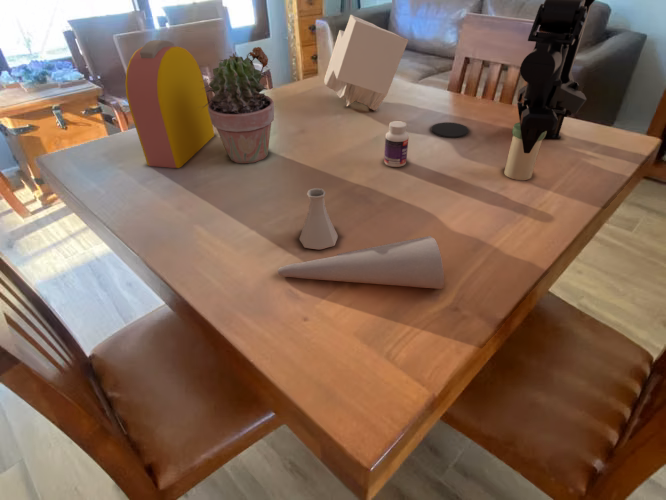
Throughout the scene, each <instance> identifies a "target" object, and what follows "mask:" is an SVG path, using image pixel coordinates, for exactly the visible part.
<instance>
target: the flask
mask: <svg viewBox="0 0 666 500" xmlns="http://www.w3.org/2000/svg"><path fill="white" fill-rule="evenodd" d="M306 195H307V197H308V211H307V215H306V216H305V217H306V218H305V221H304V224H303V227H302V230H301V232H300V236H299V242H300V244H301V245H302V246H303V247H304V249H313V250H324V249H327V248H331V247H334V246H335V245H336V243H337V240H338V238H339V236H338V233H337V231H336V229H335V226H334V224H333V223H332V221H331V218H330V215H329V213H328V211H327V208H326V202H325V197H326V191H325V190H324V188H321V187H314V188H311V189H308V191H307V192H306Z"/></svg>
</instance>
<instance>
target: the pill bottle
mask: <svg viewBox="0 0 666 500" xmlns="http://www.w3.org/2000/svg"><path fill="white" fill-rule="evenodd" d="M409 139H410V138H409V134H408V132H407V122H404V121H401V120H393V121H391V122H389V124H388V131H387V132H386V133H385V140H384V143H385V144H384V156H383V157H384V158H383V161H384V165H386V166H388V167H391V168H400V167H404V166H405V165H406V164H407V159H408V148H409Z"/></svg>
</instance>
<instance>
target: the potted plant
mask: <svg viewBox="0 0 666 500" xmlns="http://www.w3.org/2000/svg"><path fill="white" fill-rule="evenodd" d="M236 55H237V52H236V51H235V52H233V53H232V56H231V55H229V58H225V59H220V61H218V67H215V68H212V73H213V77H211V78H210V77H209V78H207V79H203V81H204V82H205V81H208V80H211V81H210V82H209V83H208V85H206V86H205V87H204V88H205V89H206V88H208V87H210V88H209V89H208V90H206V93H208V92H212V93H214V95H213V96H212V97H210V100H209V101H208V103H207V104H208V111H209V115H210V118H211V122H212V125H213V128H216V130H217V133H218V136H219V138H220V140H221V142H222V144H223V146H224V149H225V151H226V153H227V155H228V158H229V159H230V161H232V162H234V163H238V164H252V163H257V162H259V161H262V160H264V159H266V157H268V153H269V147H270V139H271V138H270V137H271V130H272V123H273V121H275V101H274V100H273V99H272V97H270V96H268V95H265V93H262V91H264V90H268V91H269V88H267V87H265V83H263V84H262V83H261V79H262V78H263V77H264V78H267V76H268V77H271V78H272V76H270V75H268V74H266V73H264V69H265V67H266V66H267V65H268V63H269V58H268V55H267V54H266V53H265V51H264V50H263V49H262V47H261V46H257V47H253V48H252V51H249V52H248V54H246V58H245V59H244V58H243V56H236ZM249 57H251V58H252V59H251V58H249ZM255 59H256V60H257V61H258V62H259V63H260V64H261V67H262V68H261V70H259V69H256V67H255V65H254V63H253V61H254V60H255ZM200 82H201V81H200ZM207 104H206V105H207ZM206 105H205V106H206ZM205 106H202V107H205ZM202 109H203V108H202ZM207 115H208V114H207Z"/></svg>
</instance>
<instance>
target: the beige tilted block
mask: <svg viewBox="0 0 666 500" xmlns="http://www.w3.org/2000/svg"><path fill="white" fill-rule="evenodd" d="M408 43H409V39H407V38H405V37H402V36H400V35H398V34H397V33H395V32H392V31H391V30H387V29H385V28H382V27H379V26H377V25H376V24H374V23H372V22H369V21H367V20H365V19H362V18H360V17H357V16H355V15H353V14H350V15H349V18H348V22H347V24H346V27H345V29H344V30H342V29H339V31H338V34H337V37H336V41H335V44H334V46H333V50H332V53H331V56H330V60H329V62H328V66H327V69H326V72H325V76H324V79H323V81H324V85H325V86H326V87H328V89H330V90H333V91H334V92H335V94H336V95H337V97H338V98H339V99H342V100H346V102H345V103H346V107H349V105H350V104H353V103H355V102H357V103H361V104H363V105H364V106H367V107H368V108H369V109H370V110H373V111H375V112H376V111H377V110H378V108H379V107H380V105H381V104H382V103H383V101H384V100H385V98H386V97H387V96H388V93H389V90H390V88H391V86H392V84H393V80H394V78H395V75H396V73H397V70H398V68H399V65H400V63H401V60H402V58H403V55H404V53H405V50H406V47H407V45H408Z"/></svg>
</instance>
